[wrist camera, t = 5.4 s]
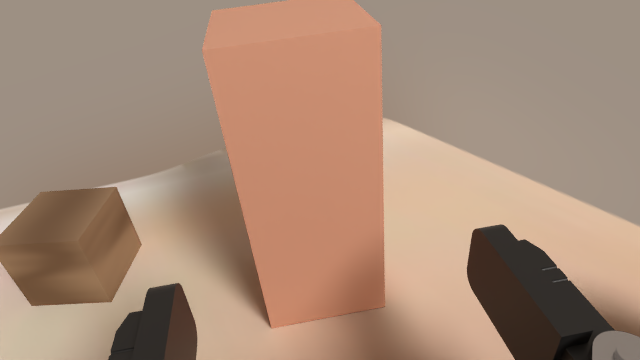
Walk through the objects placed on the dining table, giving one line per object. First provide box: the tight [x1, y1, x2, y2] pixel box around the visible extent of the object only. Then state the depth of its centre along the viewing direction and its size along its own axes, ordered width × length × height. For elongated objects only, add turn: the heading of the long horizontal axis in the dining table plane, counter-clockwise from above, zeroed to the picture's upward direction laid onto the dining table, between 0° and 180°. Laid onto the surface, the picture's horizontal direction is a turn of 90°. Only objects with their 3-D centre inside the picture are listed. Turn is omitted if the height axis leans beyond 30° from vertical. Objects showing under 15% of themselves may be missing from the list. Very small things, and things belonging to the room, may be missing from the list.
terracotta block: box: [202, 0, 385, 328], centre depth 17 cm, size 5×5×12 cm
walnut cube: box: [0, 187, 142, 306], centre depth 21 cm, size 4×4×4 cm
